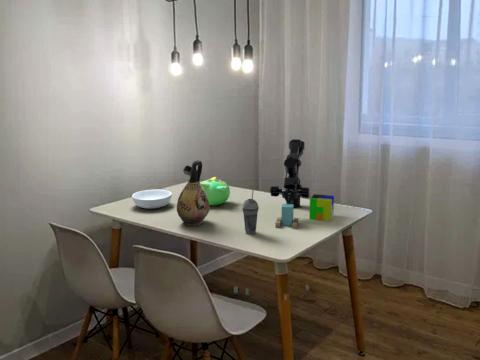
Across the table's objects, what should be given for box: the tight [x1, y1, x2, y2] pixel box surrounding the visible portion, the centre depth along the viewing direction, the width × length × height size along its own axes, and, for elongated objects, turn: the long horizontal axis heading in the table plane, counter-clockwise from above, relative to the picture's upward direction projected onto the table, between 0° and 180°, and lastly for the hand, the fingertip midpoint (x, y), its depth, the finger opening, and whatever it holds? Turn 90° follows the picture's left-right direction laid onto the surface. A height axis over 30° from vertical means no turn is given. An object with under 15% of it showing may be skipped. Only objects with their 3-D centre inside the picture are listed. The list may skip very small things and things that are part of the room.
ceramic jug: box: [176, 159, 210, 227], centre depth 226 cm, size 17×15×30 cm
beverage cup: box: [241, 188, 260, 236], centre depth 212 cm, size 7×7×20 cm
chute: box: [275, 216, 299, 229], centre depth 224 cm, size 9×10×2 cm
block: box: [281, 203, 294, 227], centre depth 225 cm, size 5×5×9 cm
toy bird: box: [200, 176, 231, 206], centre depth 258 cm, size 18×17×15 cm
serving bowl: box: [131, 189, 173, 210], centre depth 257 cm, size 21×21×7 cm
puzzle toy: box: [309, 193, 335, 221], centre depth 235 cm, size 10×10×10 cm
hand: (288, 207), depth 227 cm, fingers closed
